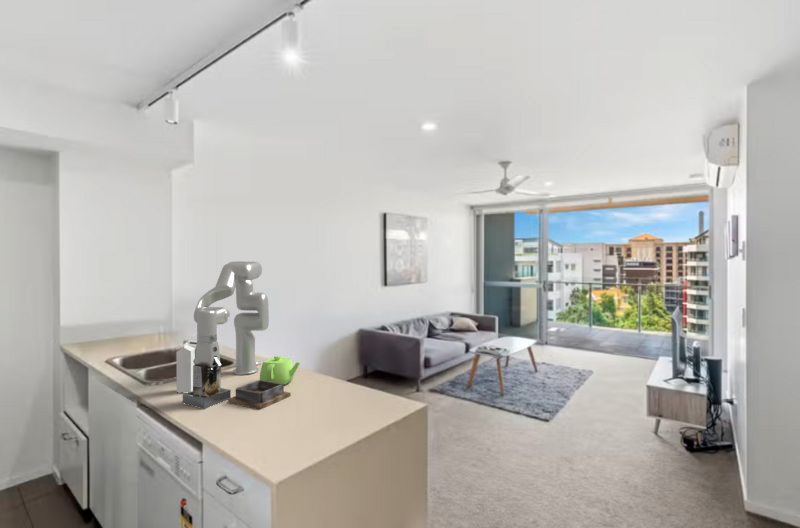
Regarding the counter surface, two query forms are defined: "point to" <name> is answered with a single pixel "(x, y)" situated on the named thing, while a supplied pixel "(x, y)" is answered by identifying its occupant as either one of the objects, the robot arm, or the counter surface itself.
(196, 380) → the coffee box
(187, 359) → the milk
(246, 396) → the dock
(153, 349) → the counter surface
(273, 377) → the teapot
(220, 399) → the grey square frame
